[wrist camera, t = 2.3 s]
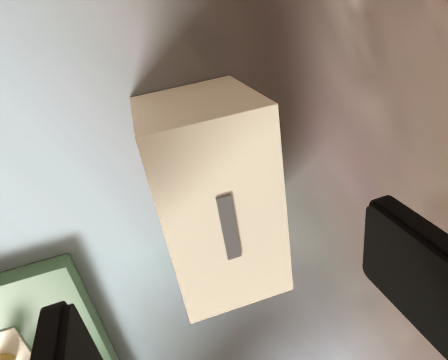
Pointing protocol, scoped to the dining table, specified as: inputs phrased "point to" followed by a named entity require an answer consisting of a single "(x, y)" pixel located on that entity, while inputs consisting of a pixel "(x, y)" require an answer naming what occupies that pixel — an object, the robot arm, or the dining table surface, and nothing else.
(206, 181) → the plug housing
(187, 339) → the dining table surface
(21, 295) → the board
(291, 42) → the dining table surface
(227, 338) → the dining table surface
